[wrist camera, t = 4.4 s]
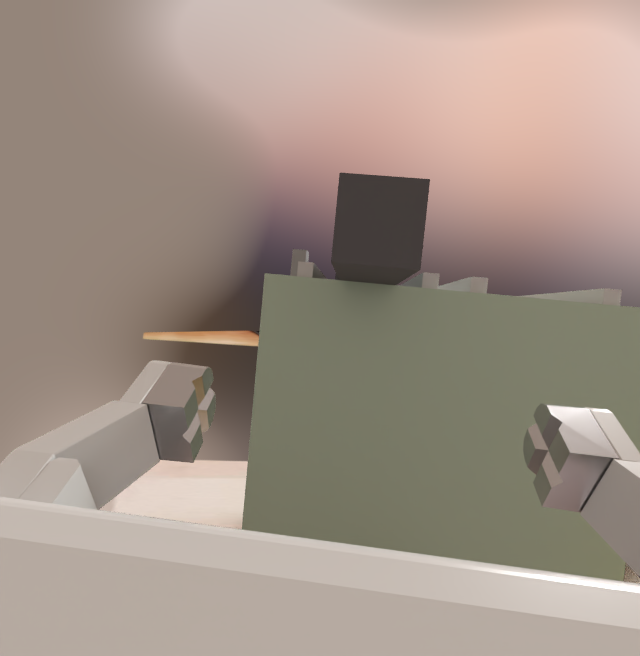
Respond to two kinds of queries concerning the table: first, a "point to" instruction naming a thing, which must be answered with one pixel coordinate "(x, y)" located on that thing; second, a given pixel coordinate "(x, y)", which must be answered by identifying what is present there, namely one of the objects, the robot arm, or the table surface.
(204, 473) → the table surface
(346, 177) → the dark grey bar
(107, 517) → the robot arm
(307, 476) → the pale green box
